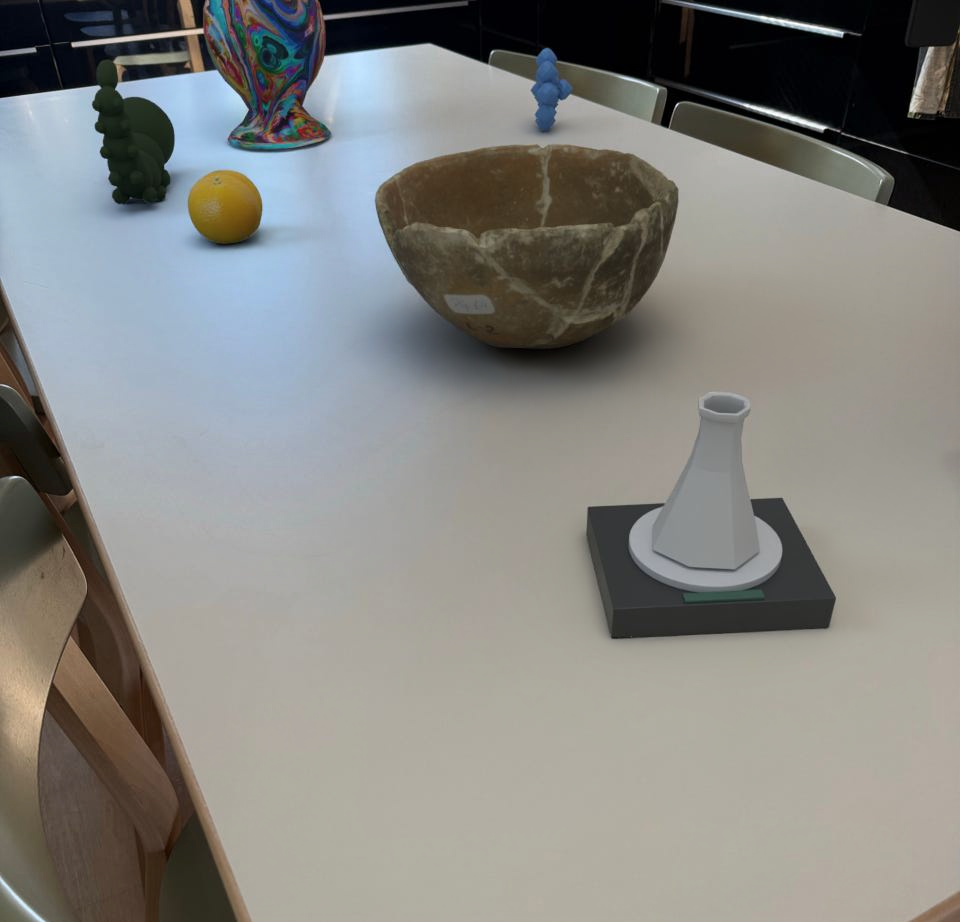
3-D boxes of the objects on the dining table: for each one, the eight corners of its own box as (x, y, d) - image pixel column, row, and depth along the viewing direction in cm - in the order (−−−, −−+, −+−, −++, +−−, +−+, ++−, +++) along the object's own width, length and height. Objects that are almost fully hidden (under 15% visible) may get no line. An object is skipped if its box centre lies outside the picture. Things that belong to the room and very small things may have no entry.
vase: (200, 140, 165) (159, -86, 146) (294, 120, 175) (267, -95, 156) (263, 160, 155) (228, -80, 136) (359, 137, 164) (338, -91, 145)
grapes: (573, 139, 161) (576, 52, 153) (530, 140, 161) (531, 53, 153) (569, 121, 170) (572, 39, 162) (529, 122, 170) (530, 40, 162)
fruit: (195, 254, 122) (181, 184, 117) (195, 233, 129) (182, 166, 124) (268, 248, 124) (258, 178, 119) (265, 227, 130) (255, 160, 125)
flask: (669, 503, 71) (684, 368, 65) (772, 526, 69) (798, 388, 62) (634, 557, 66) (647, 417, 60) (744, 584, 64) (770, 440, 57)
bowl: (483, 430, 86) (479, 251, 77) (343, 328, 104) (326, 172, 95) (727, 352, 97) (750, 187, 88) (563, 271, 115) (567, 127, 106)
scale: (777, 525, 74) (783, 489, 72) (829, 627, 65) (838, 590, 63) (586, 534, 74) (587, 499, 72) (611, 638, 65) (614, 601, 63)
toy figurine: (173, 229, 136) (187, 161, 153) (139, 72, 122) (158, 17, 140) (101, 233, 135) (123, 164, 152) (58, 76, 121) (88, 21, 139)
